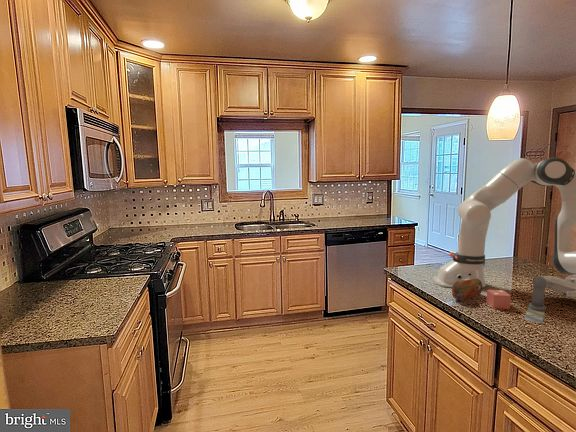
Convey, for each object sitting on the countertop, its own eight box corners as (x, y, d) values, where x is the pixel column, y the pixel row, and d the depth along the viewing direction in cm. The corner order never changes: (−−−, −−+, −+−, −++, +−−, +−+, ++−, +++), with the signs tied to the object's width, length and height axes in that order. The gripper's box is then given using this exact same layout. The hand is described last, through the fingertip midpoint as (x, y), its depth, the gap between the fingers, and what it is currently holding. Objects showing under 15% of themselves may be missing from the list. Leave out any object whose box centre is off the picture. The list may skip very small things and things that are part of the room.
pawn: (533, 310, 130) (536, 278, 129) (525, 305, 136) (528, 274, 134) (548, 311, 130) (551, 279, 128) (540, 305, 135) (543, 274, 133)
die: (492, 310, 133) (494, 294, 132) (486, 304, 139) (487, 289, 138) (509, 310, 132) (511, 295, 132) (502, 304, 138) (503, 290, 137)
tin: (456, 302, 141) (457, 282, 140) (449, 300, 144) (451, 280, 142) (482, 297, 147) (483, 277, 146) (475, 294, 150) (477, 275, 148)
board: (519, 303, 139) (519, 301, 139) (556, 311, 132) (557, 309, 132) (512, 319, 125) (512, 317, 125) (554, 329, 117) (554, 327, 117)
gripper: (552, 270, 148) (527, 274, 143) (608, 286, 128) (582, 290, 124) (550, 285, 148) (526, 288, 144) (606, 303, 129) (580, 307, 125)
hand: (552, 289), depth 134 cm, fingers open, 8 cm apart
